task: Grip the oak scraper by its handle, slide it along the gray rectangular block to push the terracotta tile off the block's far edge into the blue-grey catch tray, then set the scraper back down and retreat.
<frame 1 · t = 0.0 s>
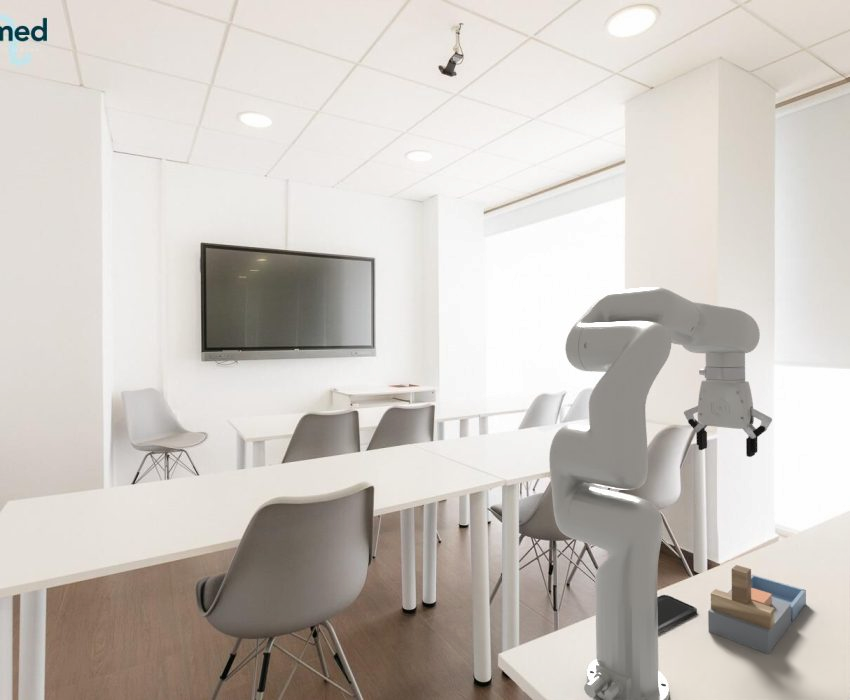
hand: (726, 452, 114), 31 cm above the table, fingers open, 9 cm apart
phone: (659, 617, 106), on the table
catch tray: (770, 603, 109), on the table
tile: (753, 603, 102), point 4 cm above the table, touching gray rectangular block
gray rectangular block: (750, 627, 101), on the table
scraper: (741, 616, 98), point 4 cm above the table, touching gray rectangular block
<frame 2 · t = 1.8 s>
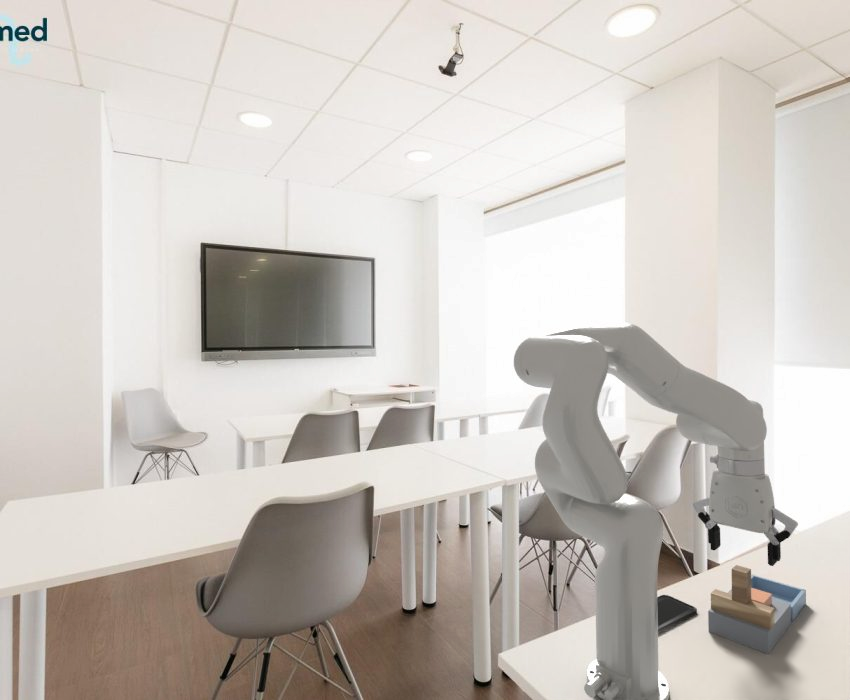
hand: (743, 555, 98), 15 cm above the table, fingers open, 9 cm apart
nothing on the table moved.
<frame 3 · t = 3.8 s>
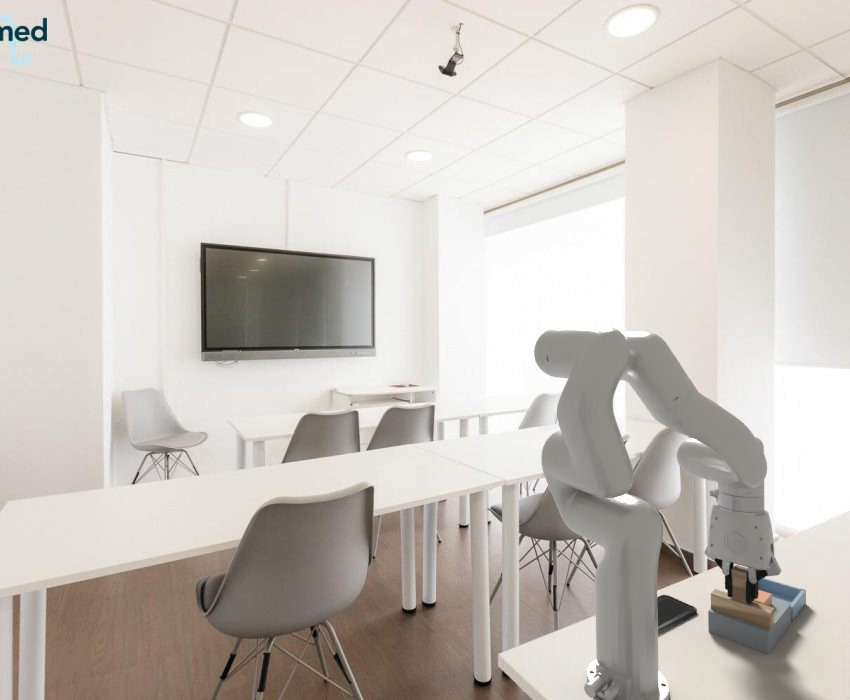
hand: (741, 596, 98), 8 cm above the table, fingers closed on scraper, 2 cm apart
scraper: (741, 616, 98), point 4 cm above the table, touching gripper, gray rectangular block
everything else where it was.
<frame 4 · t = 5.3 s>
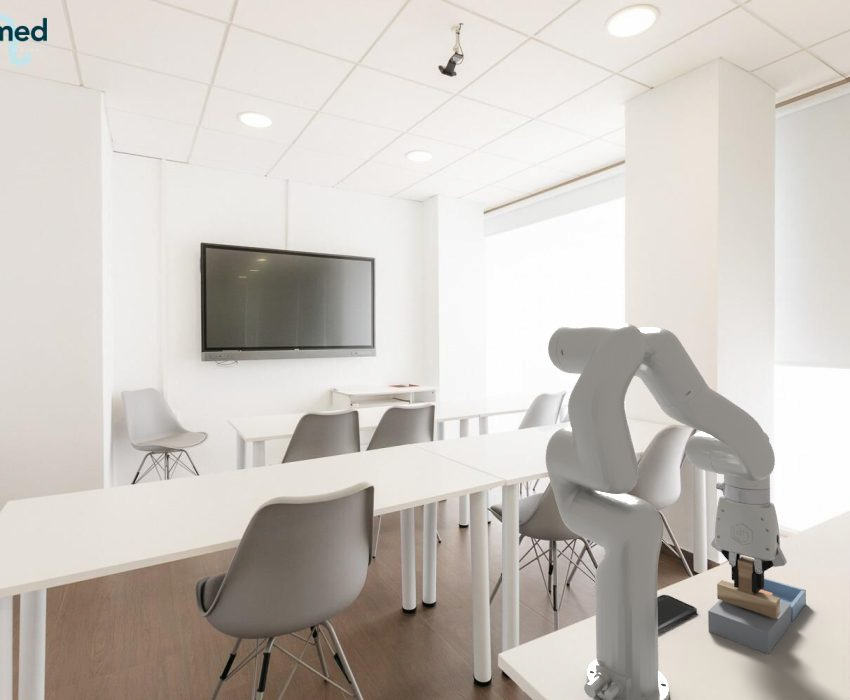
hand: (747, 587, 100), 8 cm above the table, fingers closed on scraper, 2 cm apart
tile: (754, 602, 102), point 4 cm above the table, touching scraper
scraper: (747, 606, 100), point 5 cm above the table, touching gripper, tile
everything else where it was.
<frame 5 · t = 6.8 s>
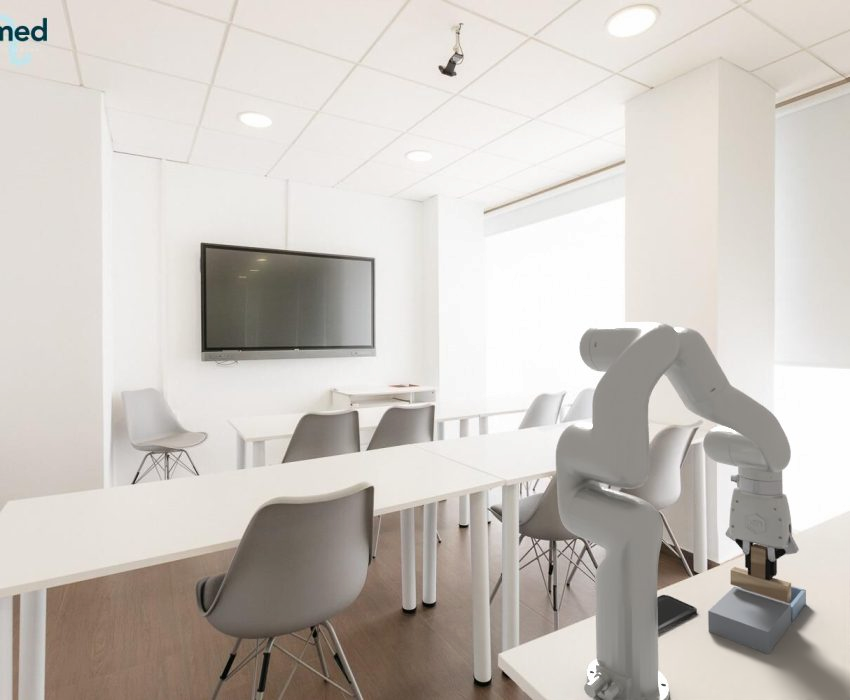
hand: (760, 574, 105), 8 cm above the table, fingers closed on scraper, 2 cm apart
tile: (772, 591, 110), point 2 cm above the table, tilted 180°, touching catch tray
scraper: (759, 591, 105), point 5 cm above the table, touching gripper
everything else where it was.
when the fingers open (8 cm above the table, at t = 9.4 s): scraper stays where it is, resting on gray rectangular block.
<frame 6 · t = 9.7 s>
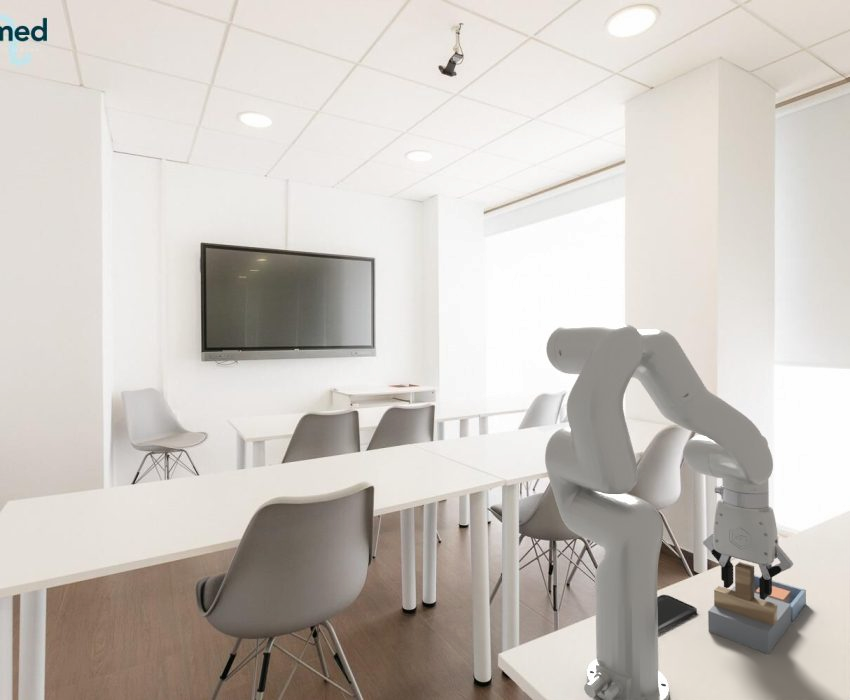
hand: (746, 590, 99), 8 cm above the table, fingers open, 5 cm apart
scraper: (744, 612, 99), point 4 cm above the table, touching gray rectangular block
everything else where it was.
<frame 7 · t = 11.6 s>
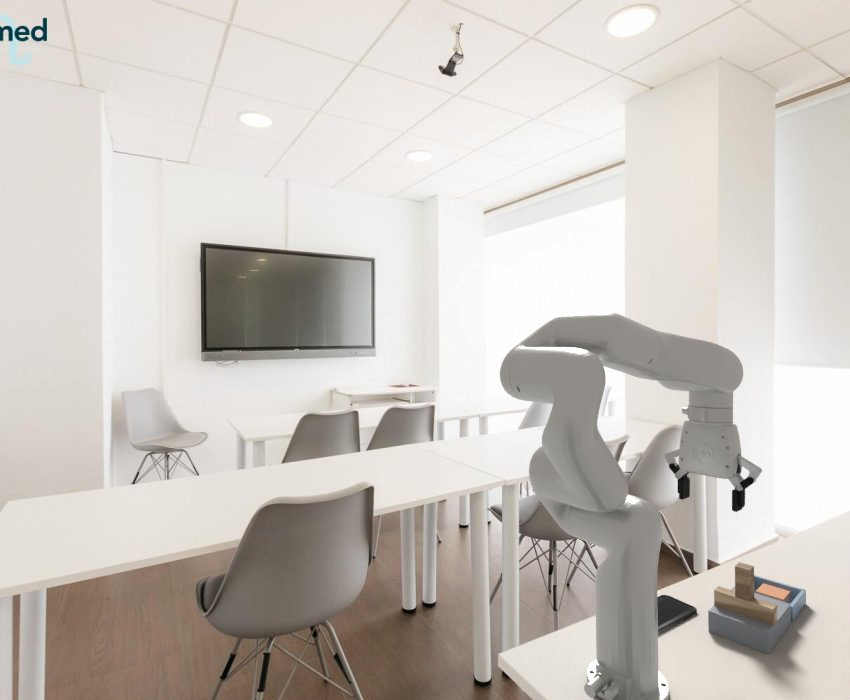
hand: (709, 503, 100), 25 cm above the table, fingers open, 9 cm apart
nothing on the table moved.
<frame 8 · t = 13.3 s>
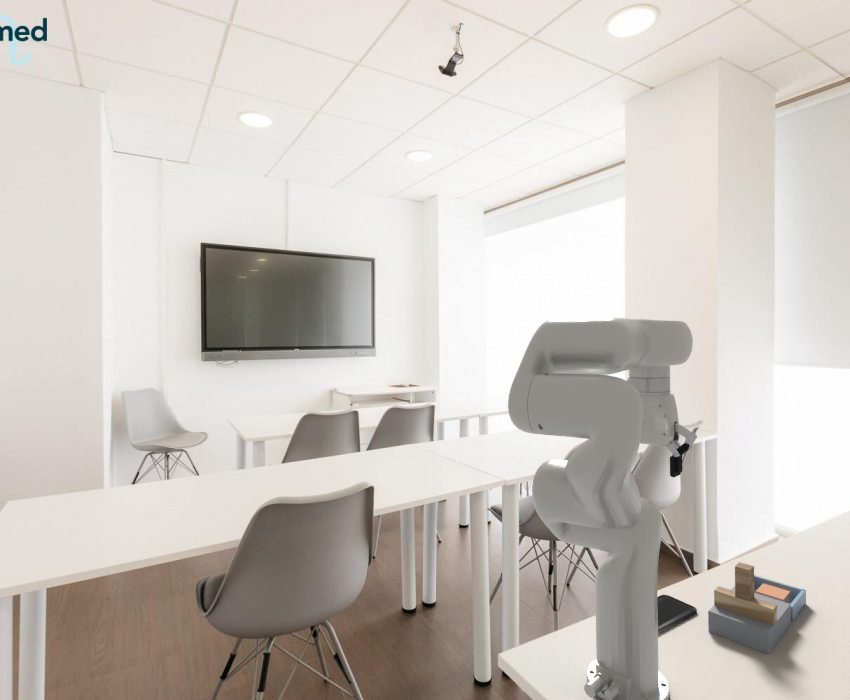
hand: (650, 471, 103), 30 cm above the table, fingers open, 9 cm apart
nothing on the table moved.
at the end: tile inside the target area (0.8 cm from its centre), point 2.5 cm above the table; the gripper is holding nothing; scraper tilted 0° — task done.
